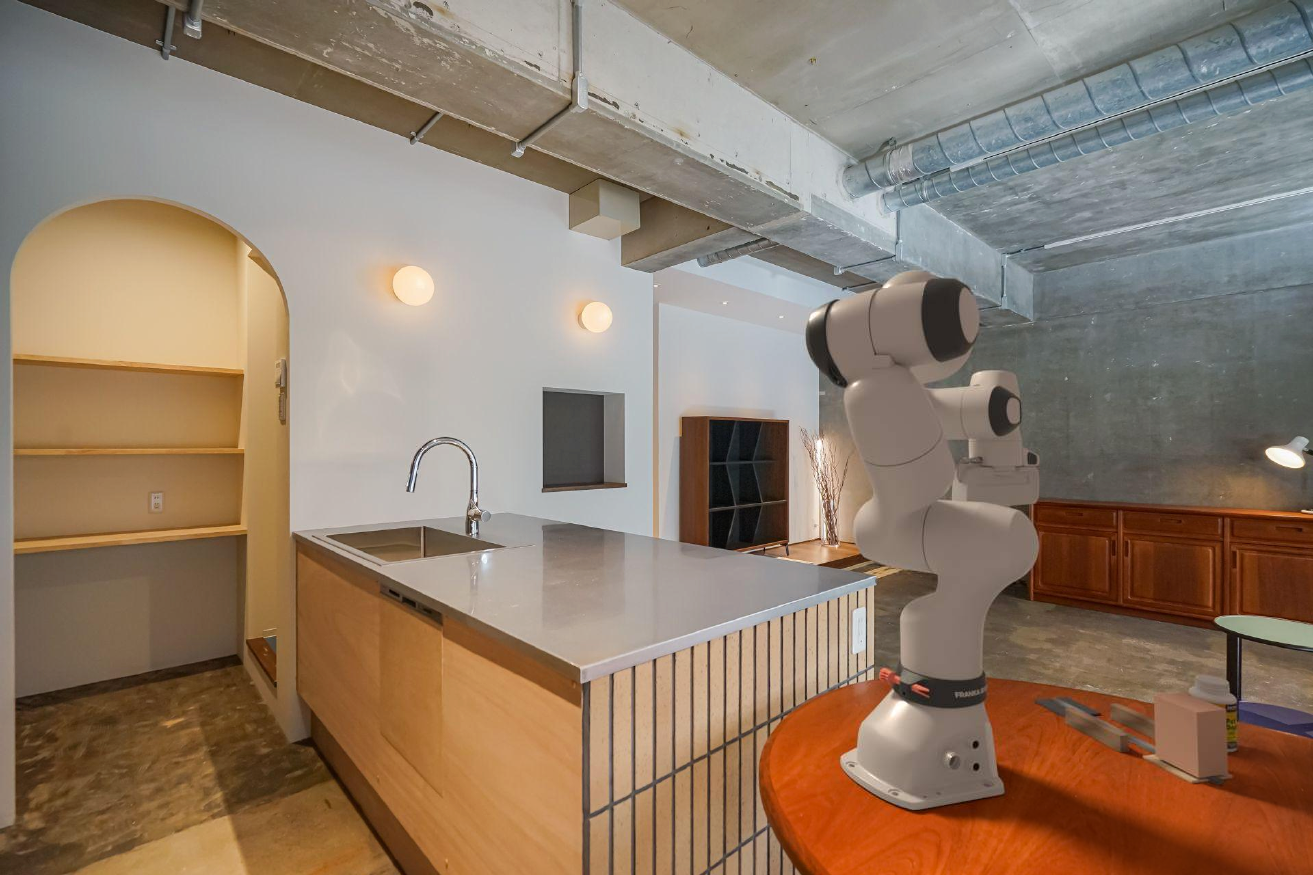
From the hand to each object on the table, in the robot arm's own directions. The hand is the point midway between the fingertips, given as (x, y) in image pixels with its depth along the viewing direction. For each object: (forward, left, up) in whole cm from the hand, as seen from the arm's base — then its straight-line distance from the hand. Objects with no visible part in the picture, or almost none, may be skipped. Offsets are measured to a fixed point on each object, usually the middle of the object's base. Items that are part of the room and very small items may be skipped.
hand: (996, 530), depth 114 cm
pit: (+6, -9, -31) cm, 33 cm away
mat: (0, -28, -31) cm, 42 cm away
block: (0, -29, -31) cm, 43 cm away
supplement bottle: (+12, -27, -31) cm, 43 cm away
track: (+3, -18, -31) cm, 36 cm away
